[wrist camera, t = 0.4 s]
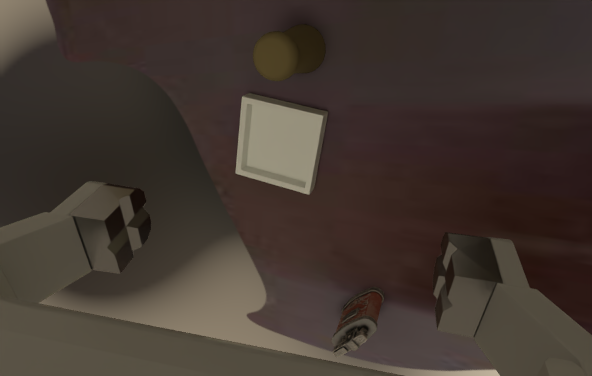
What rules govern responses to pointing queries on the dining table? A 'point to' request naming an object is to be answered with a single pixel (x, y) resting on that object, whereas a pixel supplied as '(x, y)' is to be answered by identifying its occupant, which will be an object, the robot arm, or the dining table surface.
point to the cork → (289, 52)
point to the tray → (280, 142)
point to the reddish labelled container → (357, 321)
